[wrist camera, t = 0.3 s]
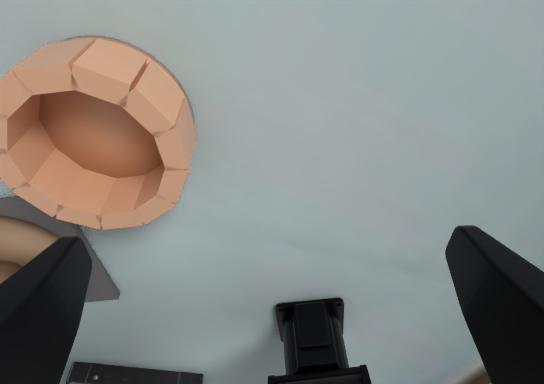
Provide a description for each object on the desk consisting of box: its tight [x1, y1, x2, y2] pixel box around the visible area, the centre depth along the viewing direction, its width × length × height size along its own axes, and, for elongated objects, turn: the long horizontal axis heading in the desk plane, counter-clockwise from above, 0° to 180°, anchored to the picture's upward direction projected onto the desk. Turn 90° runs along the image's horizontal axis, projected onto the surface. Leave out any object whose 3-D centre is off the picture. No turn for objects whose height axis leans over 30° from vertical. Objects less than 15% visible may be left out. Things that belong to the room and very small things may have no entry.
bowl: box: [0, 36, 196, 230], centre depth 20 cm, size 10×10×4 cm
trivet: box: [0, 196, 120, 302], centre depth 29 cm, size 12×12×1 cm
